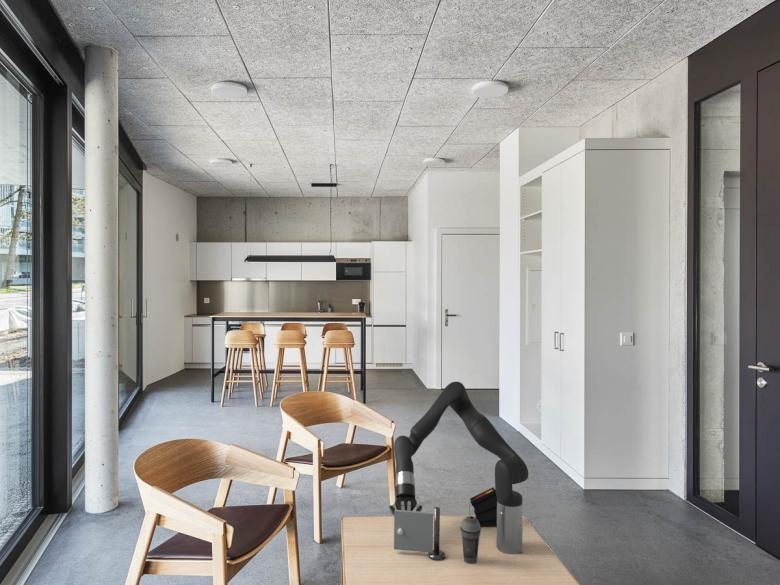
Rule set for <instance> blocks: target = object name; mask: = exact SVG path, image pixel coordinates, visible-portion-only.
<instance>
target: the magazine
mask: <svg viewBox="0 0 780 585" xmlns="http://www.w3.org/2000/svg"><path fill="white" fill-rule="evenodd" d="M469 501H470V505H471V506H472V507H473V512H474V515H475V516H474V517H475V518H476V519H477V520H478V521H479V523H480V526H481V528H487V527H488V528H495V527H496V528H497V495H496V491H495V486H494V487H491V488H489V489H486V490H485V491H483V492H480V493H479V494H476V495H474V496H473V497H470V498H469Z"/></svg>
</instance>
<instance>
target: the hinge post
mask: <svg viewBox="0 0 780 585" xmlns="http://www.w3.org/2000/svg"><path fill="white" fill-rule="evenodd" d="M440 516H441V508H440V507H439V506H435V507H434V508H433V553H430V552H427V557H428V559H430V560H432V561H437V562H438V561H442V560H444V559H445V558H446V553H445V551H443V550H441V549H440V544H441V542H440V540H441V539H440V534H441V531H440V530H441V529H440V528H441V527H440V526H441V525H440V524H441V521H440V520H441V517H440Z"/></svg>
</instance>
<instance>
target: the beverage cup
mask: <svg viewBox="0 0 780 585" xmlns="http://www.w3.org/2000/svg"><path fill="white" fill-rule="evenodd" d="M459 528H460V532H461V542H462V554H463V555H462V556H463V562H464V563H466V564H469V565H474V564H477V562H478V561H477V560H478V555H479V554H478V553H479V543H480V536H481V533H482V527H481V526H480V523H479V521H478V520H477V519H476V516H471V502H470V503H469V502H468V516H466V517H464V518H463V520H461V524H460V527H459Z"/></svg>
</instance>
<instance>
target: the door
mask: <svg viewBox="0 0 780 585" xmlns="http://www.w3.org/2000/svg"><path fill="white" fill-rule="evenodd" d="M393 521H394V522H393V527H394V528H393V550H398V551H408V552H420V553H428V552H430V553H433V550H434V512H431V511H430V512H429V511H421V512H418V511H416V510H413V511H405V510H398V509H396V510H395V511H394V515H393Z"/></svg>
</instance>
